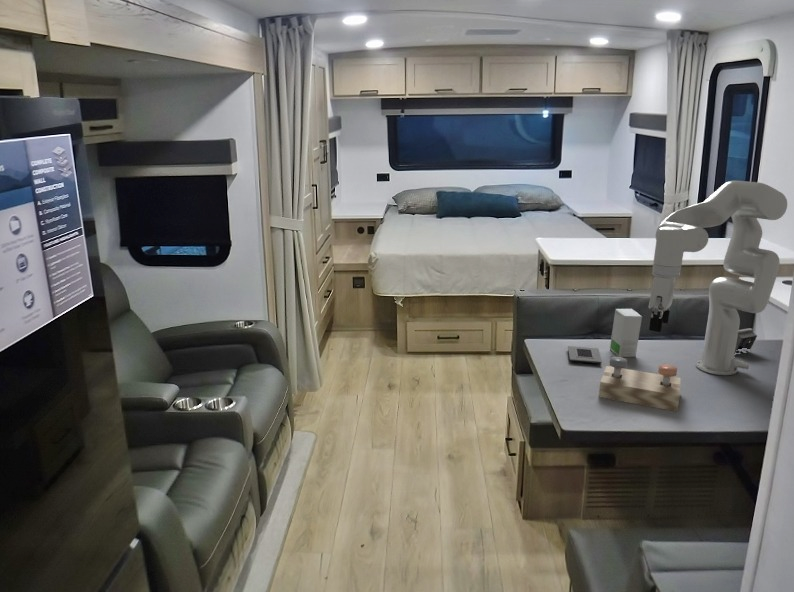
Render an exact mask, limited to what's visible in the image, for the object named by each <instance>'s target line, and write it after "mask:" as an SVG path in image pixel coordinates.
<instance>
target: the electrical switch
mask: <svg viewBox="0 0 794 592" xmlns="http://www.w3.org/2000/svg"><path fill="white" fill-rule="evenodd" d="M753 331H754V330H753V328H750V327H749V328H743V329H739V331H738V337H737V342H736V348H735V352H736V350H738V349H742V348H747V349H750V350H751V349H752V347H753V346H754V343H755V341H756V340H757V337H758V334H756V333H754V332H753Z"/></svg>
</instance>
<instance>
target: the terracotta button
mask: <svg viewBox="0 0 794 592" xmlns="http://www.w3.org/2000/svg"><path fill="white" fill-rule="evenodd" d="M677 372H678V367H676V366H674V365H671V364H666V363H665V364H660V365H659V366H658V372H657V374H660V375H663V381H662V385H663V386H669V384H670V377H677Z"/></svg>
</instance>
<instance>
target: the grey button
mask: <svg viewBox="0 0 794 592" xmlns="http://www.w3.org/2000/svg"><path fill="white" fill-rule="evenodd" d="M609 366H611V367H614V374H613V377H616V378H620V374H621V368H623V369H627V368H628V367H627V366H628V359H626V357H618V356H612V357H610V358H609Z"/></svg>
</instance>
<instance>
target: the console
mask: <svg viewBox="0 0 794 592" xmlns="http://www.w3.org/2000/svg"><path fill="white" fill-rule="evenodd" d="M613 374H614V367H612V366H610V365H606V366H605V367H604V370H603V374H602V377H601V378H600V382H599V390H598V398H601V397H604V398H603V399H606V398H609V399H608V400H612V399H614V400H613V401H617V400H619V402H623V401H624V403H628V402H629V403H630V404H635V405H638V406H639V405H640V406H646V407H651V408H656V409H663V410H667V411H672V412H673V411H674V412H678V408H679V404H680V403H679V402H680V394H681V384H682V383H681V381H682V379H681V377H677V376H673V377H670V384H669V386H663V385H662V381H663V375H661V374H659V373H653V372H647V371H640V370H635V369H628V368H621V374H620V378H616V377H613ZM629 403H628V404H629Z"/></svg>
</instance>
